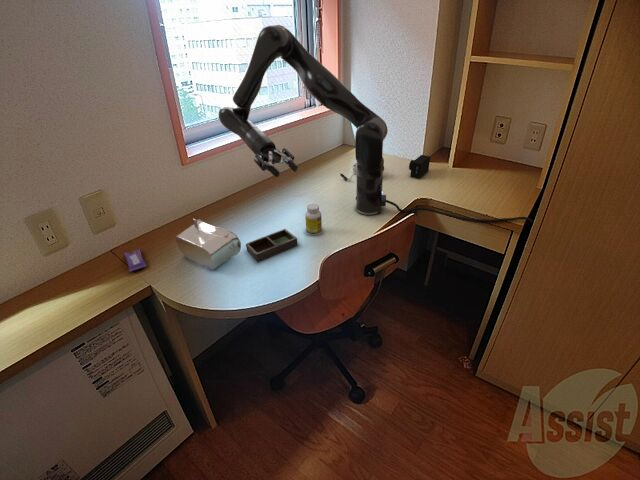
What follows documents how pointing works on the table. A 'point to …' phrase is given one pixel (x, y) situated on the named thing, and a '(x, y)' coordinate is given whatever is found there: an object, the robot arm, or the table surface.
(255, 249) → the divided box
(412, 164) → the digital camera
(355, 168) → the clip-on lamp
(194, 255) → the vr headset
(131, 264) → the snack package
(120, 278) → the table surface
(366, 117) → the robot arm
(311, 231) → the supplement bottle
